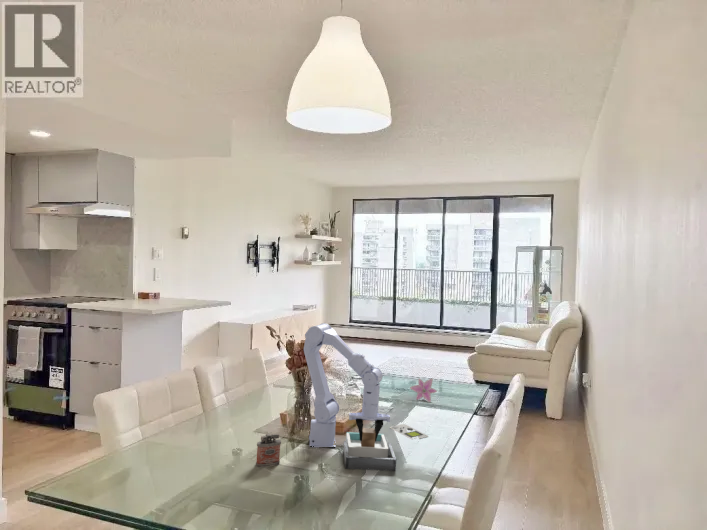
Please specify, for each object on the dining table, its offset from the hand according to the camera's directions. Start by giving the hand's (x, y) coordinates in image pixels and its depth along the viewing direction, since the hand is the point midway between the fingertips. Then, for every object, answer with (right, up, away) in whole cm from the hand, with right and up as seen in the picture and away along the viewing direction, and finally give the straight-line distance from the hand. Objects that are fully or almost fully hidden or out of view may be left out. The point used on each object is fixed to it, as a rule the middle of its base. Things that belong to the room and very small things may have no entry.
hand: (367, 440), depth 190 cm
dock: (0, -5, -6) cm, 8 cm away
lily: (+29, -3, +71) cm, 77 cm away
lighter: (-33, -4, -14) cm, 36 cm away
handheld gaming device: (+17, -5, +25) cm, 30 cm away
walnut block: (0, -2, 0) cm, 2 cm away
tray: (-1, -5, +3) cm, 6 cm away
